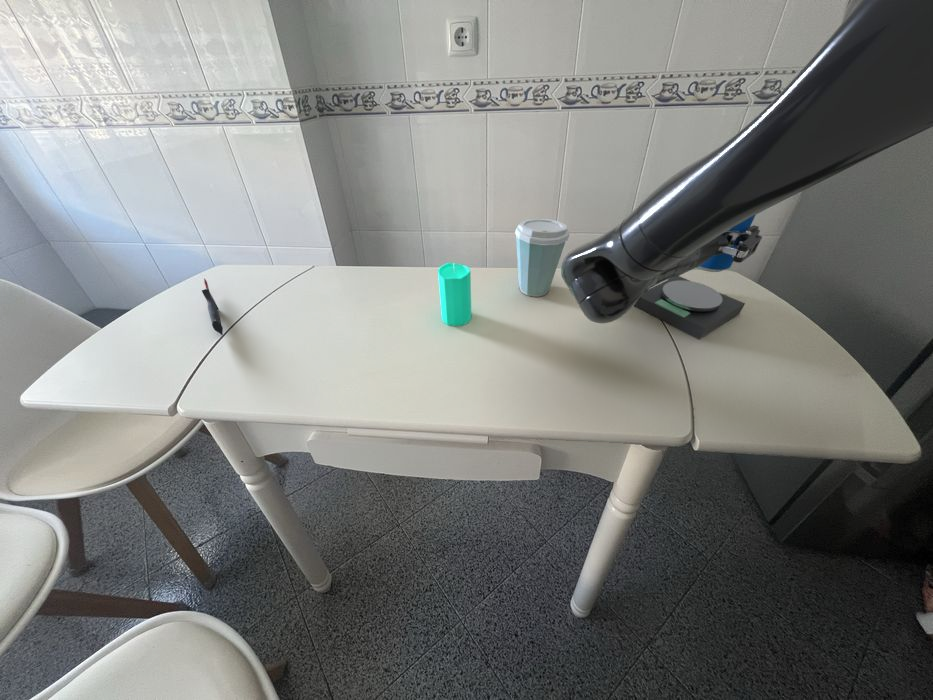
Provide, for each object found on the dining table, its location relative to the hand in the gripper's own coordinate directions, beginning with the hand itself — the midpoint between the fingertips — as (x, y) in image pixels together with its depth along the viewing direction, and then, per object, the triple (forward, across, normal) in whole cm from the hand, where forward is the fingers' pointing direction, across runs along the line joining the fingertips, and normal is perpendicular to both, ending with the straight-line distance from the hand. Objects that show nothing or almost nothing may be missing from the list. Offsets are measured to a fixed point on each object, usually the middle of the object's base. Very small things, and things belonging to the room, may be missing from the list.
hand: (731, 225), depth 61 cm
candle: (-38, +26, +18) cm, 50 cm away
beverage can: (-2, 0, +7) cm, 7 cm away
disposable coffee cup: (-18, +25, +18) cm, 36 cm away
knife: (-78, +59, +18) cm, 100 cm away
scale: (0, +2, +18) cm, 18 cm away
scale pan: (0, +2, +15) cm, 15 cm away
